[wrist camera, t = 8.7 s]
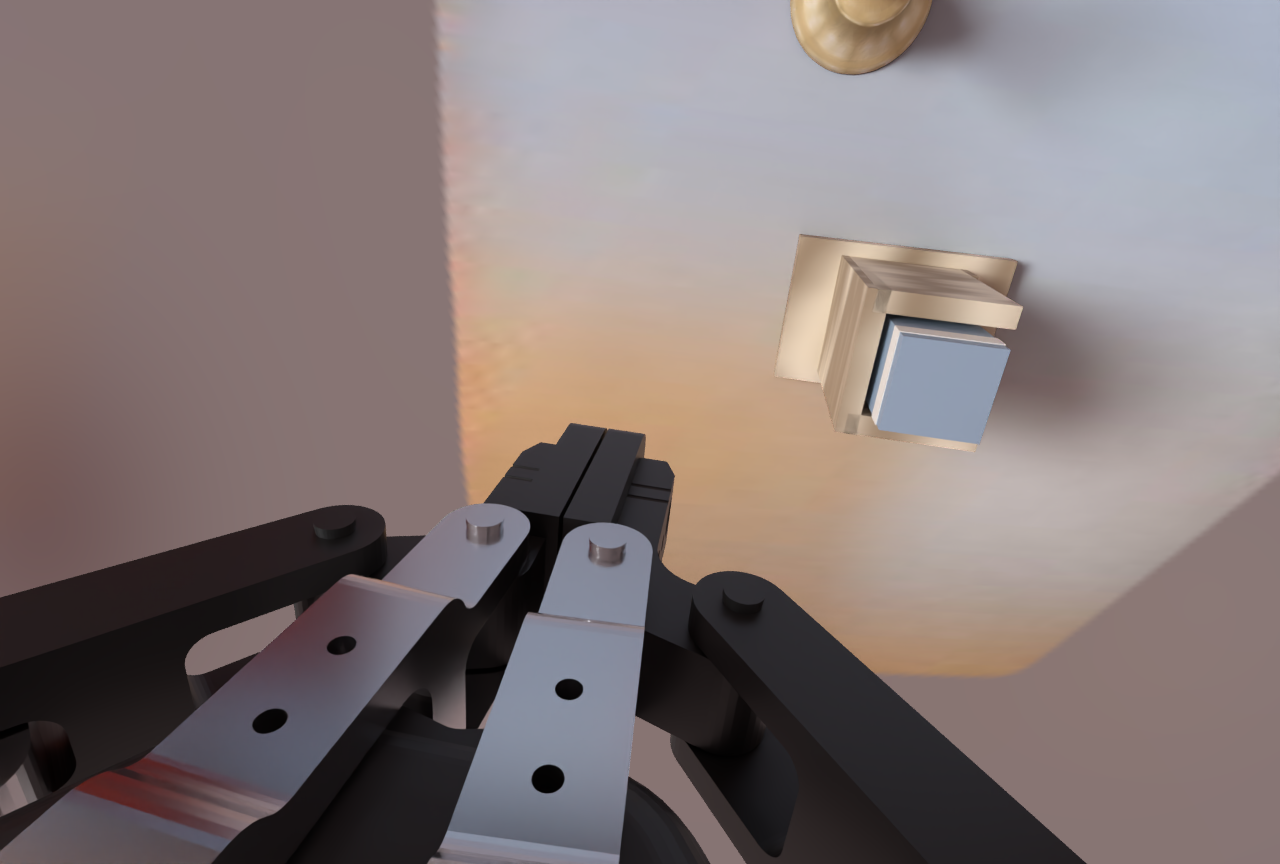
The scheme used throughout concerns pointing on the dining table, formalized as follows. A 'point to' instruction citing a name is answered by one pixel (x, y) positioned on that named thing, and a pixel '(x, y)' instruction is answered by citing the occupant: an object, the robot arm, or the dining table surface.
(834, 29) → the hand bell
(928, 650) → the dining table surface
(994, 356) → the block
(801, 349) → the tan frame
